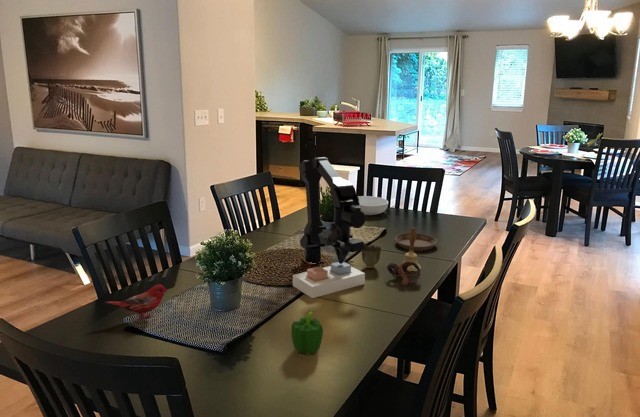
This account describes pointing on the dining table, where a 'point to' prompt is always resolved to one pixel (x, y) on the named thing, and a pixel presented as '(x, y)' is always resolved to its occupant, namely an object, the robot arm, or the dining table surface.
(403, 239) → the plant saucer
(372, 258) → the cup
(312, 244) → the robot arm
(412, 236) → the hand bell
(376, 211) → the serving bowl
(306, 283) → the key panel
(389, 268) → the pottery mug
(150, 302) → the decorative bird figurine
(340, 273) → the blue key
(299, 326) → the bell pepper
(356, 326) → the dining table surface
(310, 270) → the terracotta key
